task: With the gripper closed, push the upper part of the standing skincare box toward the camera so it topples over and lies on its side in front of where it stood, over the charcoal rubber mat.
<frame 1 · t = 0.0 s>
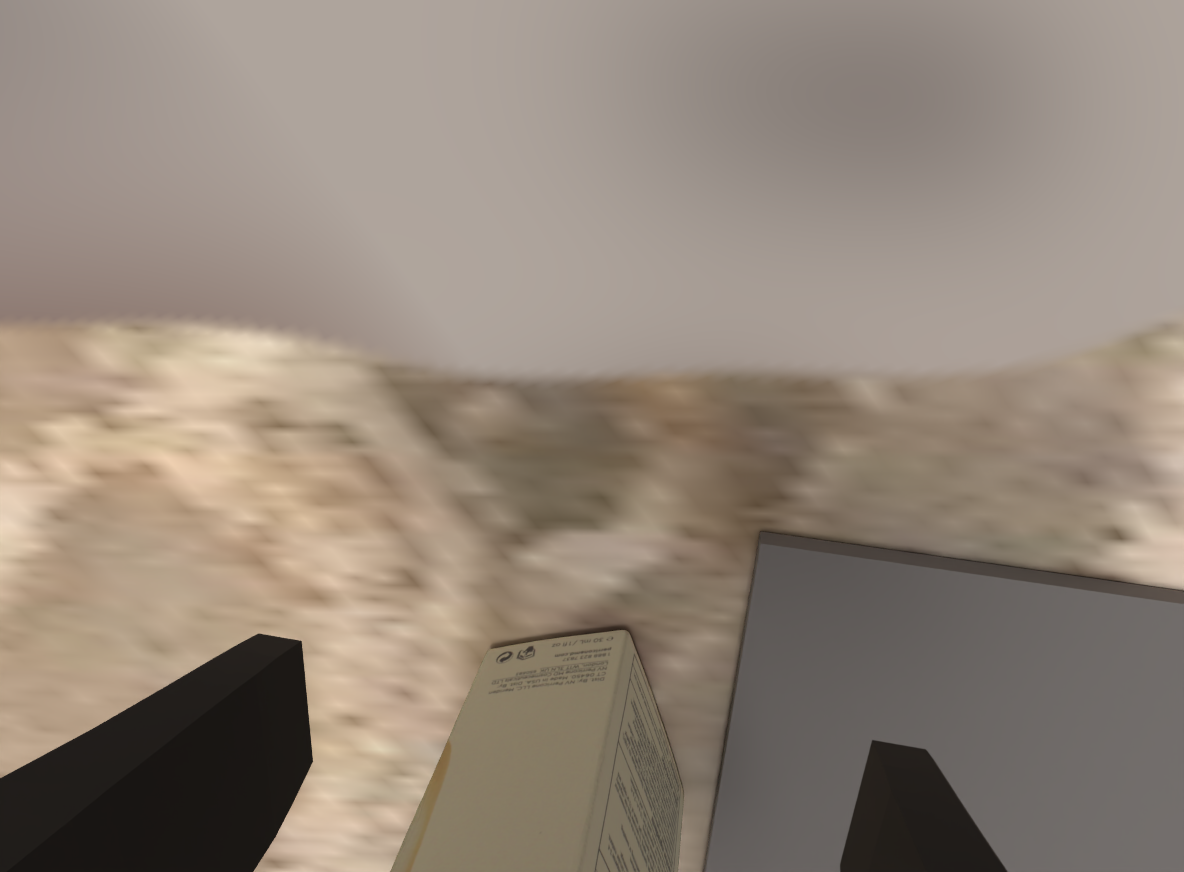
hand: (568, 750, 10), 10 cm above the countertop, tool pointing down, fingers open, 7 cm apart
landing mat: (1051, 809, 21), on the countertop
skincare box: (591, 720, 23), on the countertop
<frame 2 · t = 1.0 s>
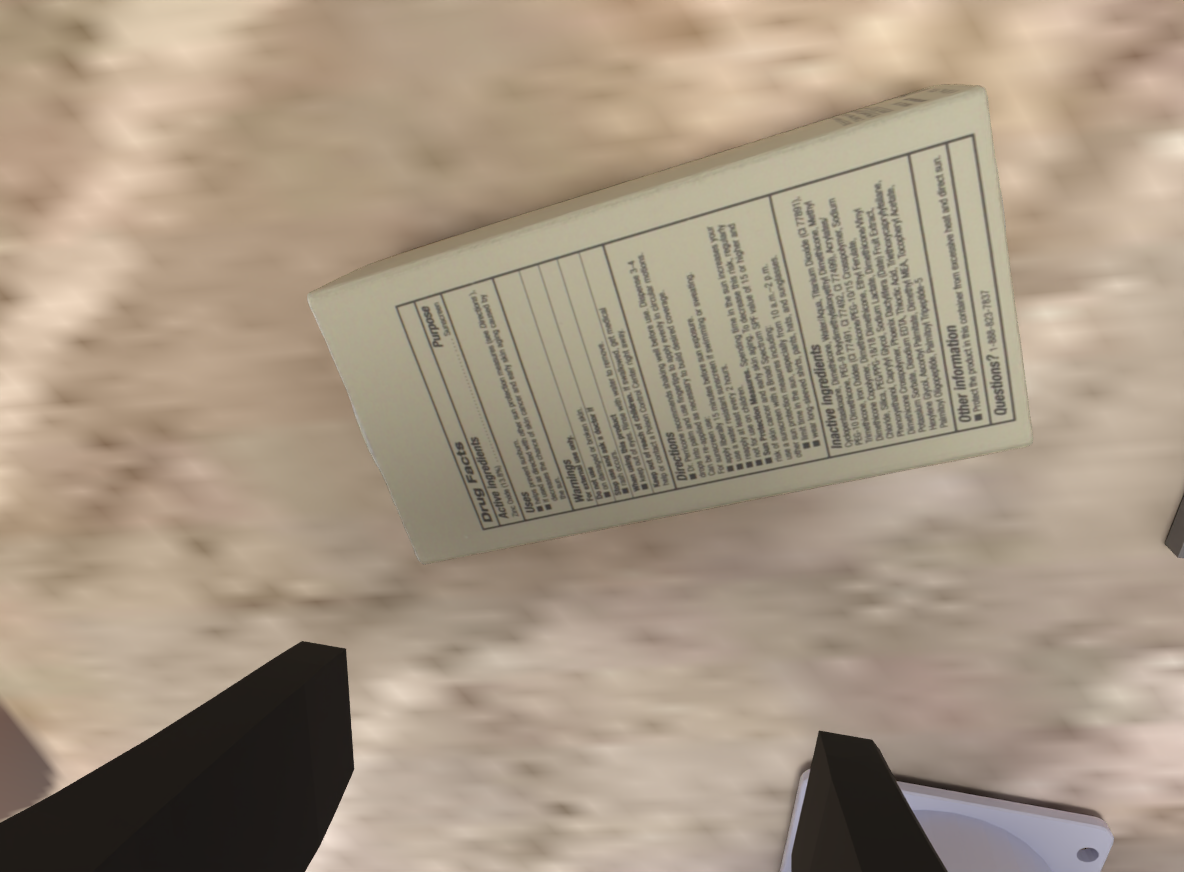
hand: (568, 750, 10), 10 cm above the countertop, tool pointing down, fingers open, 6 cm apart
skincare box: (998, 260, 15), point 2 cm above the countertop
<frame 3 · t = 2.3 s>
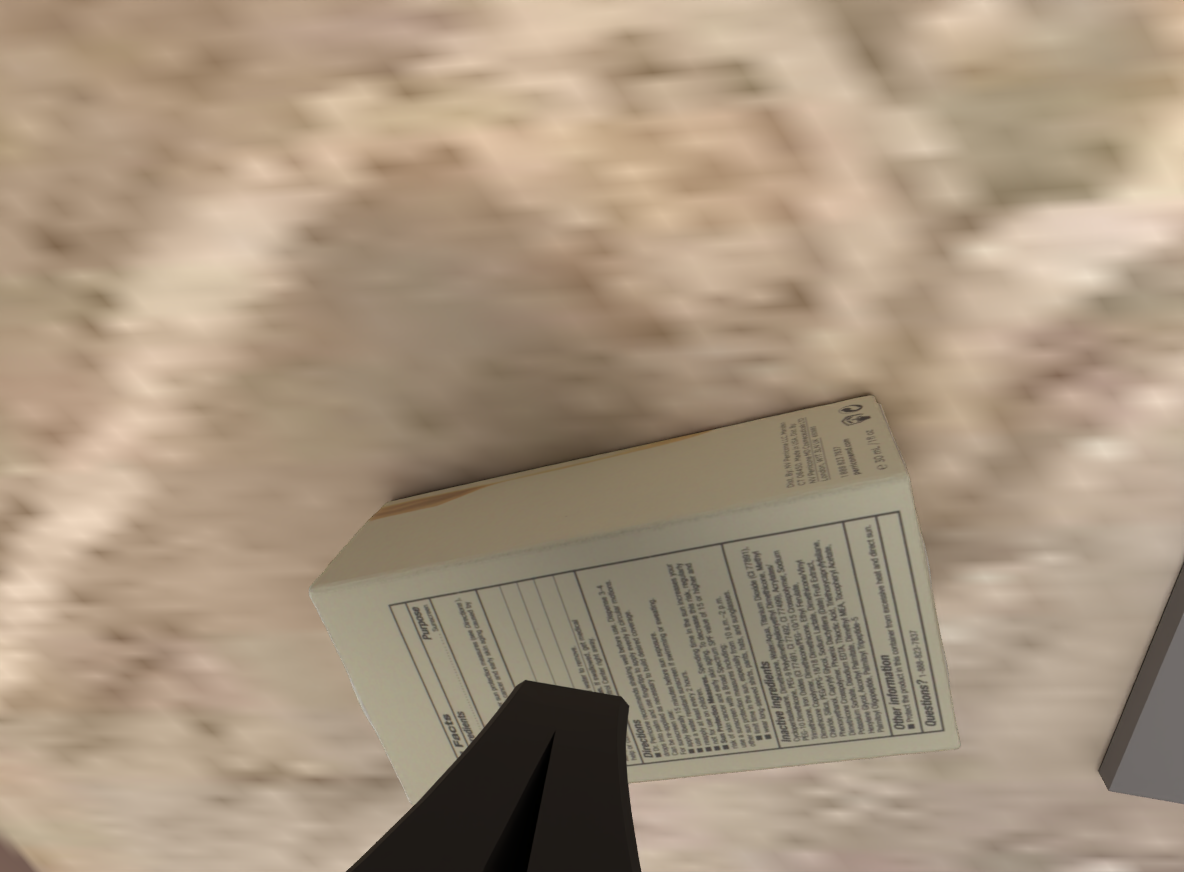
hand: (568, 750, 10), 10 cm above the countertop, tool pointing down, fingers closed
skincare box: (933, 566, 16), point 2 cm above the countertop
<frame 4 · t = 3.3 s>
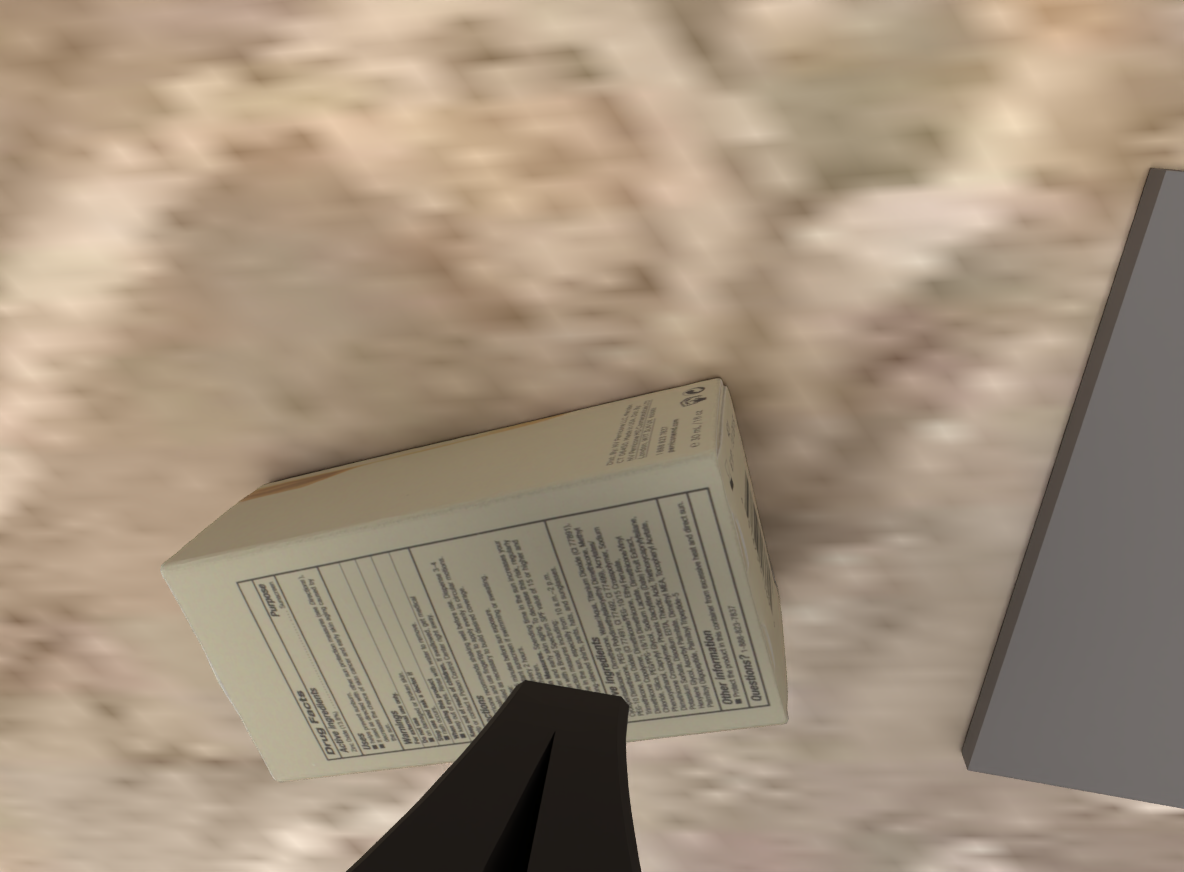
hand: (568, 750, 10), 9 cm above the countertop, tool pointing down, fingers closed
skincare box: (770, 545, 17), point 2 cm above the countertop
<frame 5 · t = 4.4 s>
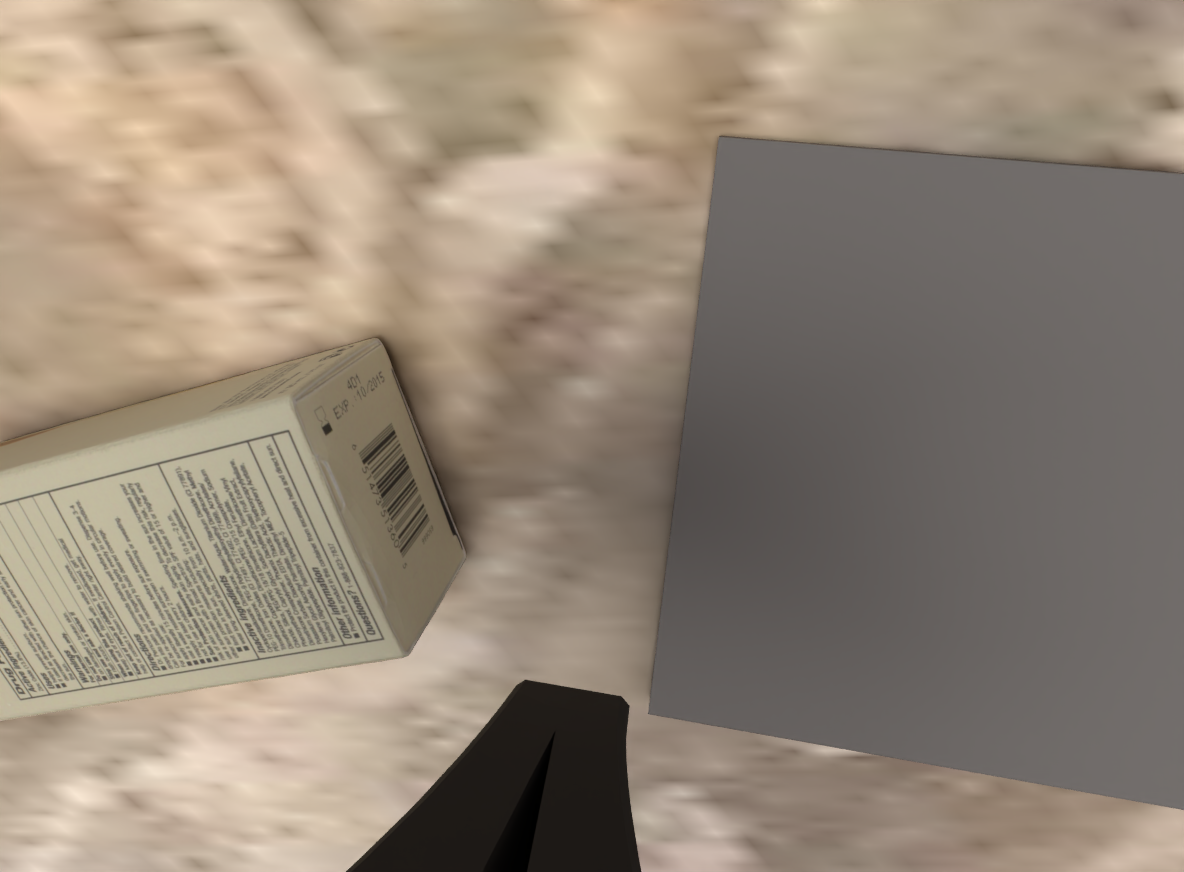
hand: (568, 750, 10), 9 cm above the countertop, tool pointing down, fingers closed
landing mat: (1076, 512, 17), on the countertop
skincare box: (407, 493, 18), point 2 cm above the countertop
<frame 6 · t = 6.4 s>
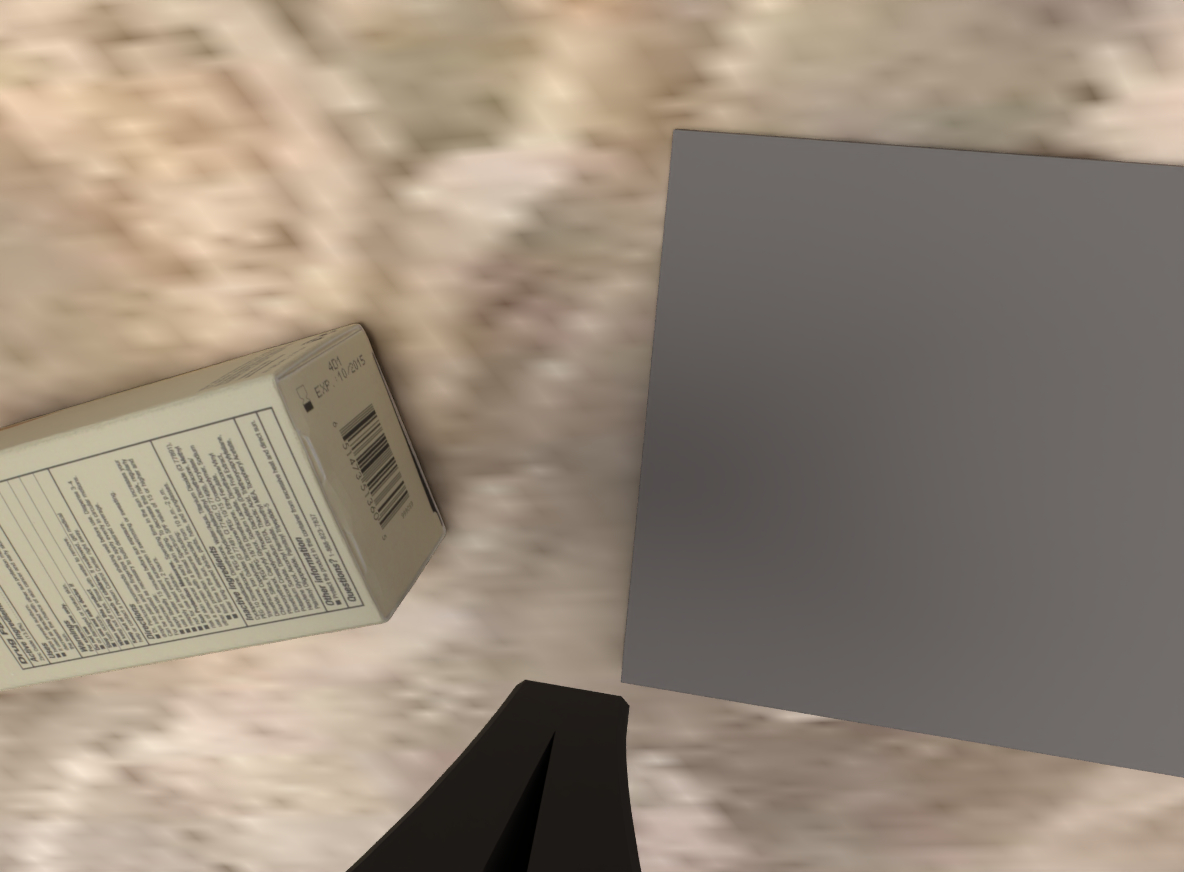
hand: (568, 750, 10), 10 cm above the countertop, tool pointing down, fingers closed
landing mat: (1019, 483, 18), on the countertop
skincare box: (387, 469, 19), point 2 cm above the countertop
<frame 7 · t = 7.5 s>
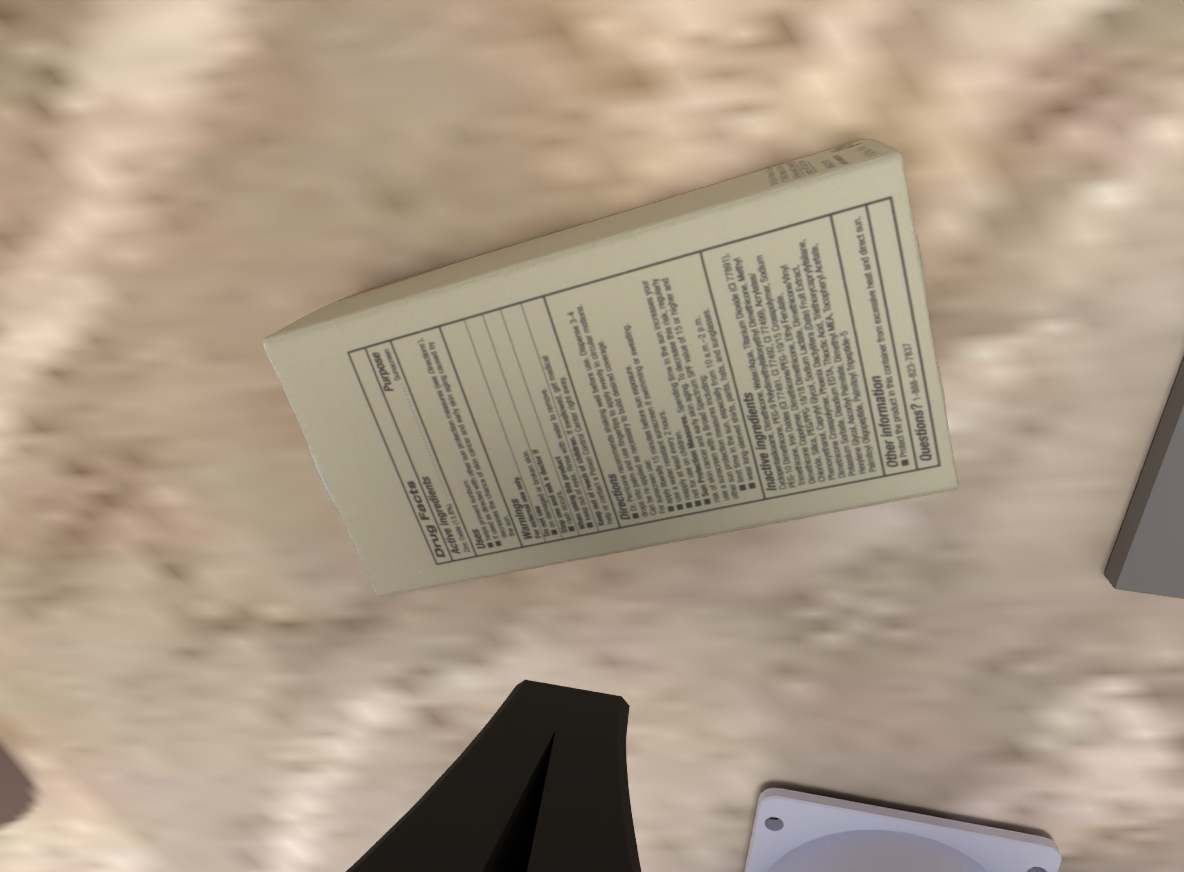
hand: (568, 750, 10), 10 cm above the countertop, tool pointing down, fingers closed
skincare box: (929, 308, 15), point 2 cm above the countertop
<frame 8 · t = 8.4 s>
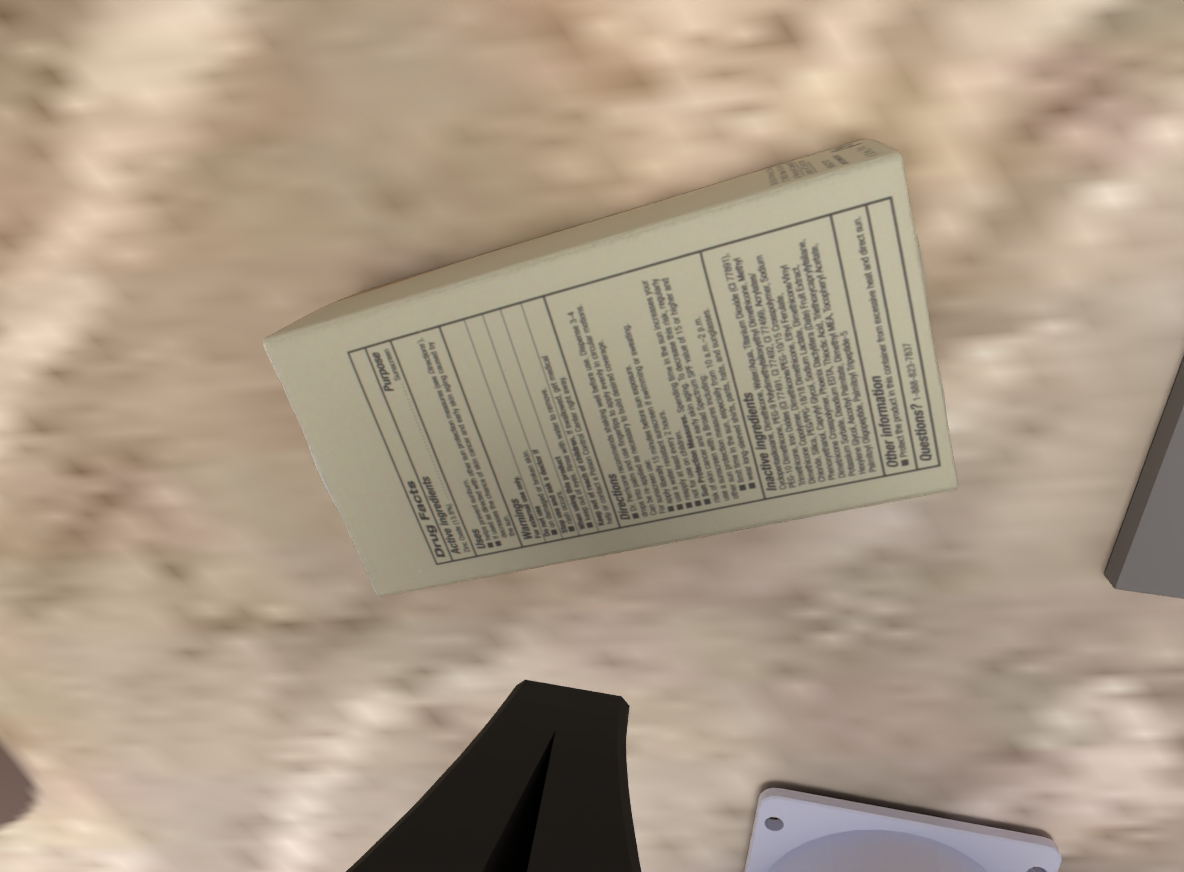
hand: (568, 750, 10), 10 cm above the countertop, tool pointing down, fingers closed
skincare box: (929, 308, 15), point 2 cm above the countertop
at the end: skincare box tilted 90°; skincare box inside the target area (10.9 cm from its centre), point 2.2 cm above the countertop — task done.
